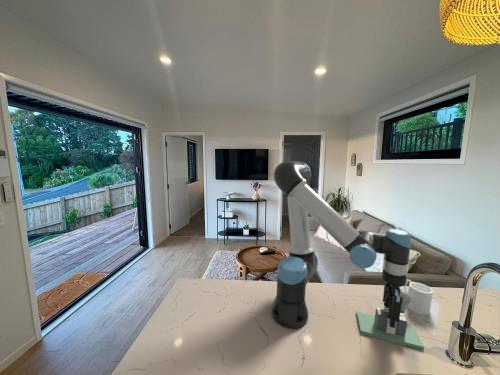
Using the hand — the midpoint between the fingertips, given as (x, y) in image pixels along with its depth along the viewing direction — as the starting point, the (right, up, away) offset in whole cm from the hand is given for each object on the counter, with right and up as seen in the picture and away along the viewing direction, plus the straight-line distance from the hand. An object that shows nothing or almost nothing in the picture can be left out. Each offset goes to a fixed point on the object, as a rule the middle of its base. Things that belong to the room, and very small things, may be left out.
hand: (388, 327), depth 82 cm
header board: (0, -1, 0) cm, 2 cm away
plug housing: (0, 0, 0) cm, 0 cm away
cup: (+22, 0, +16) cm, 27 cm away
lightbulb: (+12, -1, +10) cm, 15 cm away
